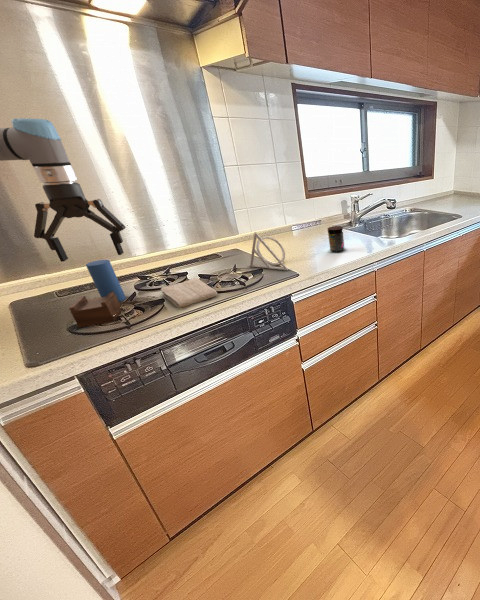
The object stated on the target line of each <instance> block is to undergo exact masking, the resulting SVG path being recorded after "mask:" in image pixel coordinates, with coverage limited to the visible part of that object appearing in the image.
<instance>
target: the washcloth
mask: <svg viewBox="0 0 480 600" xmlns="http://www.w3.org/2000/svg"><path fill="white" fill-rule="evenodd" d="M160 291H161V293H162V294H163V297H164V298H165V299H166V300H168V301H169V302H170V303H171V304H173V306H175V307H177V308H184V307H187V306H190V305H193V304H195V303H199V302H202V301H203V302H204V301H206V300H210V299H212V298H215V297H217V296H218V295H219V293H218V292H217V291H216V289H214V288H213V287H211V286H209V285H208V284H207V283H205V282H203V281H202V280H200V279H198V278H190V279H189V280H185V281H183V282H178V283H172V284H169V285H166V286H162V287H161V288H160Z"/></svg>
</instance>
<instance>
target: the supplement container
mask: <svg viewBox="0 0 480 600" xmlns="http://www.w3.org/2000/svg"><path fill="white" fill-rule="evenodd" d="M327 235H328V236H327V238H328V245H329V251H330V252H331V253H335V254H337V253H342V252H344V251H345V249H346V247H345V236H344V228H343V226H341V225H339V226H337V225H336V226H335V225H334V226H329V227H327Z"/></svg>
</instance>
